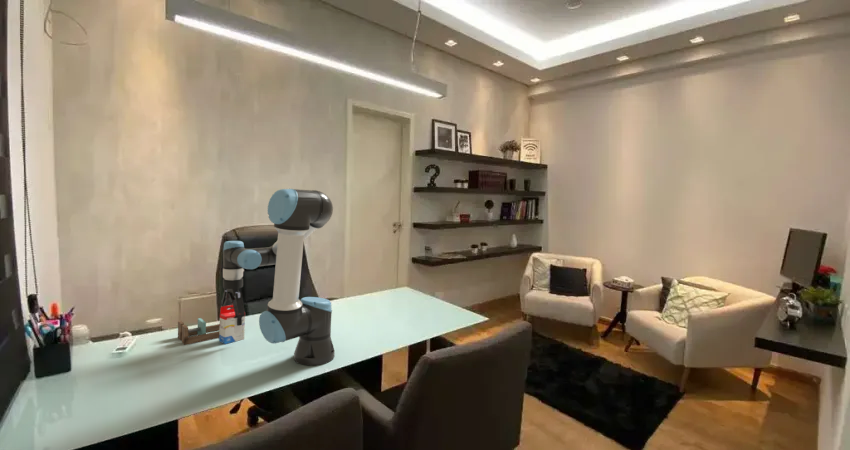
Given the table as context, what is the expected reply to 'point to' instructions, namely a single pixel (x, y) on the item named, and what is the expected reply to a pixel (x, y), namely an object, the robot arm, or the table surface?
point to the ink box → (229, 326)
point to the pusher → (199, 327)
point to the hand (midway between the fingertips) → (232, 328)
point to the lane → (186, 340)
